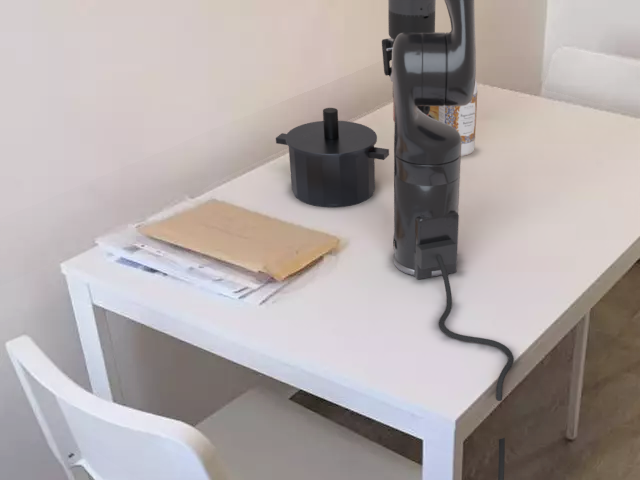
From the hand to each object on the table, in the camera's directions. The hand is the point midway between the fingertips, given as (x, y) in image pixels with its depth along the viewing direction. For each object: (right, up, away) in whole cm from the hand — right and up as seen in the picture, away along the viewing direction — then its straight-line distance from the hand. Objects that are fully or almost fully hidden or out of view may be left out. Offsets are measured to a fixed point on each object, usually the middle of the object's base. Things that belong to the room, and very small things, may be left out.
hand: (411, 108), depth 150 cm
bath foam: (+8, -4, +17) cm, 19 cm away
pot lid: (-13, -6, -4) cm, 15 cm away
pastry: (+4, +4, +29) cm, 29 cm away
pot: (-13, -14, +1) cm, 19 cm away
